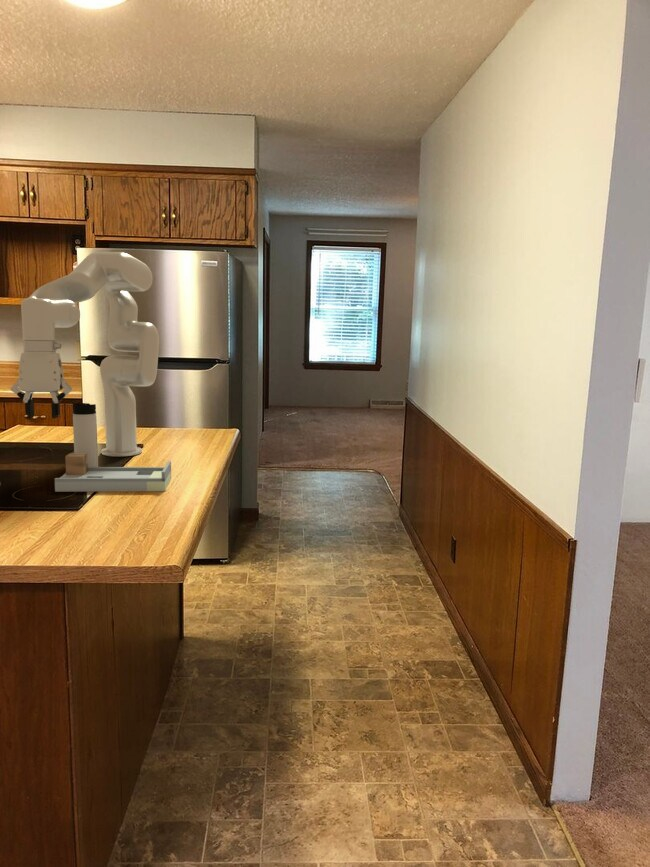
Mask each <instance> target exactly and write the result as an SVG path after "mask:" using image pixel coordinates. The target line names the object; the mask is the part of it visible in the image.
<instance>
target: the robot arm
mask: <svg viewBox="0 0 650 867" xmlns="http://www.w3.org/2000/svg"><path fill="white" fill-rule="evenodd" d="M153 280H154V279H153V272H152V271H151V268H150V267H149V266H148V265H147V264H146V263H144V262H143V261H141V260H139V259H138V258H136V257H134V256H132V255H130V254H128V253H125V252H122V251H97V252H96V251H95V252H92V253H89V254H88V255H87V256H86V257H84V259H83V260H82V261H81V262H80V263H79V264H78V265H77V266H76V267H75V268H74V269H73V270H72V271H71V272H70V273H69V274H67V275H64V276H62V277H59V278H56V279H54V280H52V281H50V282H48V283H46V284H45V283H44V284H43V285H41V286H39V287H38V288H37V289H36V290H34V291H33V293H31V294H30V295H29V297H27V298H24V299H22V300H21V302H20V303H21V304H20V306H21V308H20V310H21V326H22V345H23V352H21V353H20V359H19V366H18V379H16V381H15V383H13V385H12V386H11V387H10V391H12V392H13V393H14V394H15V395H16V396H17V397H18V398H19V399H20V400H22V402H23V403H24V406H25V407H24V408H25V415H27V419H32V418H34V417H35V403H34V401H33V395H34V393H49V394H50V397H51V399H52V403H51V404H50V408H51V418H52V419H54V420H55V419H57V418H59V416H61V407H60V404H61V403H60V402H61V401H62V400H63V399H64V398H65V397H66V396H68V395H69V393H70V394H71V392H72V391H73V388H72V386H71V385H70V384H69V383H68V382H67V381H66V380H65V378H64V370H63V364H62V358H61V354H60V353H59V352H57V350H59V349H60V350H61V349H62V344H61V343H60V342H59V343H58V342H57V340H56V333H55V332H56V330H55V329H58V328H59V329H60V328H63V329H64V328H65V329H67V328H71V327H74V326H76V325H77V324H78V322H79V320H80V318H81V310H80V308H79V306H78V303H83V302H85V301H88V300H91V299H93V297H94V296H96V295H97V293H98V292H99V291H100V289H102V291H103V292H104V293H105V296H106V298H107V299H108V304H109V319H108V320H109V321H108V330H107V331H108V333H107V334H108V335H107V341H108V342H107V344H108V346H109V347H110V349H112V350H114V351H116V352H126V353H138V355H137V356H136V355H124V354H123V355H121V354H119V355H118V354H116V355H108V356H106V357H105V358H104V359H102V360H101V363H100V366H99V372H100V377H101V381H102V387H103V393H104V394H103V395H104V398H103V399H104V423H105V424H104V425H105V448H102V449H101V450H100V453H102V454H101V455H102V456H107V457H118V458H119V457H132V456H137V455H140V454H141V453H142V451H143V449H142V448H141V447H139V446H138V443H137V440H138V439H137V438H138V437H137V404H136V402H137V401H136V395H135V394H134V392H133V390H132V389H131V387H150V386H153V384H154V383H155V381H156V379H157V375H158V374H157V373H158V363H159V351H160V349H159V348H160V335H159V330H158V328H157V327H156V326H155V325H154V324H153V323H151V322H149V321H148V322H145V321H138V316H139V315H138V312H139V311H138V310H139V308H138V304H137V301H136V300H135V299H134V297H133V296H132V295H131V293H130V292H136V293H137V292H146V291H148V290H149V289H150V288H151V287H152V284H153ZM62 390H63V391H62ZM59 391H61V392H60V393H59Z"/></svg>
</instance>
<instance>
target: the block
mask: <svg viewBox="0 0 650 867" xmlns="http://www.w3.org/2000/svg"><path fill="white" fill-rule="evenodd" d="M64 460H65V473H66V475H85V474H86V473H87V472H88V453H74V452H70V453H68V454H66V455H65V459H64Z"/></svg>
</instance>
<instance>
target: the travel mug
mask: <svg viewBox="0 0 650 867" xmlns="http://www.w3.org/2000/svg"><path fill="white" fill-rule="evenodd" d="M71 405H72V427H73V428H72V429H73V453H88V467H99V454H98V452H99V451H98V424H97V422H98V420H97V419H98V418H97V410H96V409H97V406H96V405H97V404H95V403H93V404H92V403H89V402H88V403H87V402H85V403H84V402H78V401H77V402H75V401H74V402H72V404H71Z"/></svg>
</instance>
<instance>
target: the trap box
mask: <svg viewBox="0 0 650 867" xmlns="http://www.w3.org/2000/svg"><path fill="white" fill-rule="evenodd" d="M171 481H172V461H171V460H167V462H166V464H165V465H164V466H98V467H88V472H87V473H86V474H85V475H66V472H65V473H63V475H61V476H60V477H55V478H54V492H57V493H58V492H59V493H60V492H67V493H68V492H166V490H167V488H168V486H169V484H170V482H171Z"/></svg>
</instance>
